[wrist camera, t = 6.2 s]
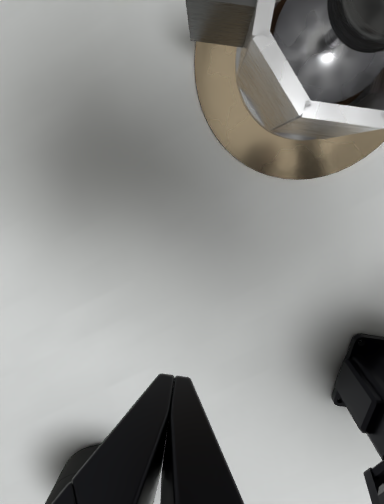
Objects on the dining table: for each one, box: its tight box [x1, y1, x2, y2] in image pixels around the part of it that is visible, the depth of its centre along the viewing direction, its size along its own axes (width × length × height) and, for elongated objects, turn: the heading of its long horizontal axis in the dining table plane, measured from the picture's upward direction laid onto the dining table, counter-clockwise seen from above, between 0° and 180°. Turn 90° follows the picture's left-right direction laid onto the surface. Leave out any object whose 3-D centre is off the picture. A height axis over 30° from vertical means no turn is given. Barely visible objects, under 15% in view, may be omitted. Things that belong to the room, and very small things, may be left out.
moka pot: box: [186, 0, 384, 180], centre depth 13 cm, size 13×13×7 cm
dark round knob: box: [273, 0, 384, 104], centre depth 11 cm, size 5×5×6 cm
